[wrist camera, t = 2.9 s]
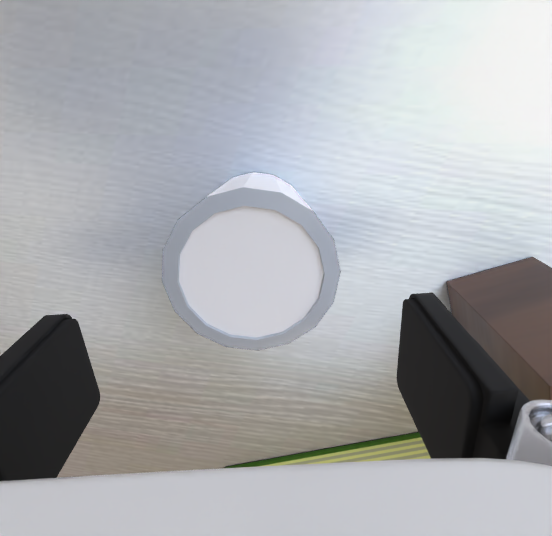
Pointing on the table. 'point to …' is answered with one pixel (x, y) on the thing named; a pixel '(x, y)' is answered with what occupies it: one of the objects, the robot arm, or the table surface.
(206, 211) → the white cup
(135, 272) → the table surface
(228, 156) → the table surface
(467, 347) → the robot arm
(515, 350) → the walnut block
